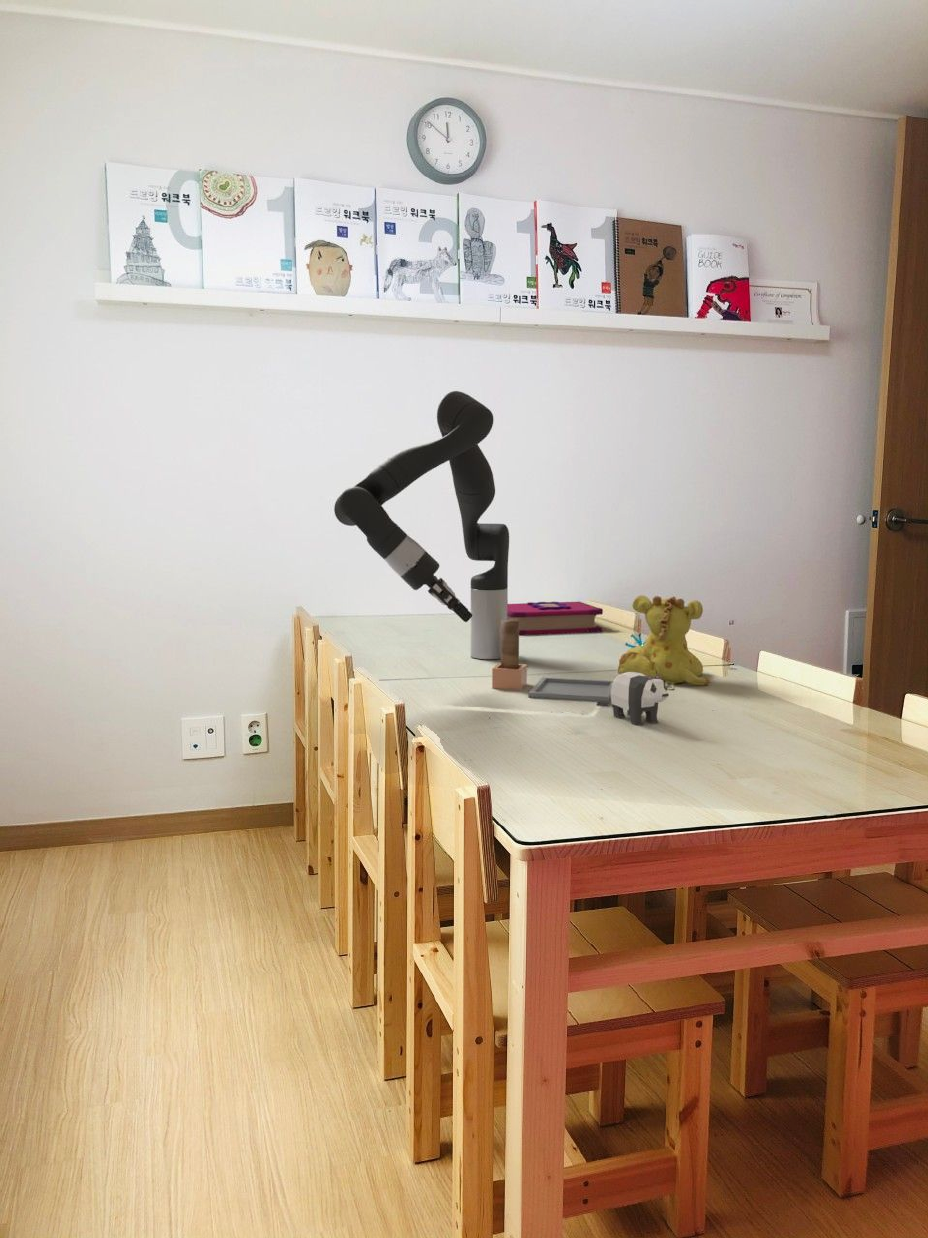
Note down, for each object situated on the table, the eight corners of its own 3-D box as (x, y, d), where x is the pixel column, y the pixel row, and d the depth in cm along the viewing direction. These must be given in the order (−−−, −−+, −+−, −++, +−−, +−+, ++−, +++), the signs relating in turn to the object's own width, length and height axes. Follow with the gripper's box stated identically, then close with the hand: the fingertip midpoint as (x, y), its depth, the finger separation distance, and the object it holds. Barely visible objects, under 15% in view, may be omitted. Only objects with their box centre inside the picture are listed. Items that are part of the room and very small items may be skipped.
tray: (542, 685, 220) (542, 677, 220) (616, 689, 216) (616, 681, 216) (528, 701, 205) (528, 692, 205) (608, 705, 201) (608, 696, 201)
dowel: (502, 683, 218) (503, 619, 216) (520, 684, 217) (520, 619, 215) (499, 687, 215) (499, 621, 213) (516, 688, 214) (517, 622, 212)
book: (491, 626, 308) (491, 601, 307) (577, 623, 315) (578, 598, 314) (511, 637, 288) (511, 610, 286) (603, 633, 295) (604, 607, 293)
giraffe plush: (694, 669, 239) (697, 588, 237) (724, 690, 216) (727, 600, 213) (608, 669, 239) (610, 588, 236) (629, 691, 215) (631, 601, 213)
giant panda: (607, 715, 194) (608, 665, 192) (631, 712, 196) (632, 663, 195) (652, 732, 180) (653, 680, 179) (677, 729, 183) (679, 677, 181)
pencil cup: (498, 685, 220) (498, 663, 219) (526, 687, 218) (526, 664, 217) (492, 691, 214) (492, 668, 213) (521, 693, 212) (521, 669, 212)
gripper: (397, 572, 217) (451, 624, 219) (400, 578, 203) (457, 634, 205) (422, 547, 217) (476, 599, 219) (426, 551, 202) (483, 607, 205)
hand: (467, 616), depth 212 cm, fingers open, 8 cm apart
